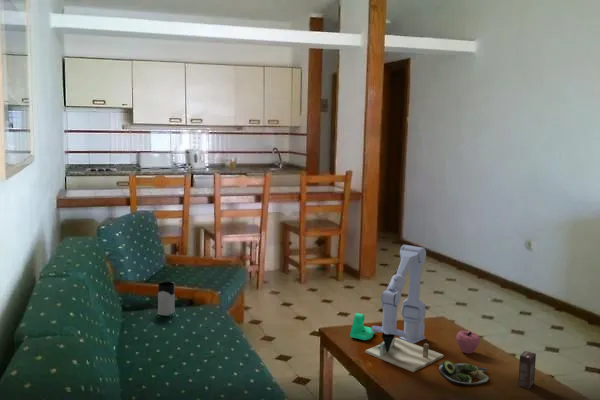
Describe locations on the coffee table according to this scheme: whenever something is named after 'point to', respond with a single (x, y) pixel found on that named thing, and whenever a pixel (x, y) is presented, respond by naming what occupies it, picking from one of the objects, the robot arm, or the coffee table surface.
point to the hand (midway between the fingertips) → (387, 350)
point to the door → (384, 347)
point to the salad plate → (462, 373)
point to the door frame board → (407, 355)
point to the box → (527, 369)
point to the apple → (467, 341)
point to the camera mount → (360, 328)
